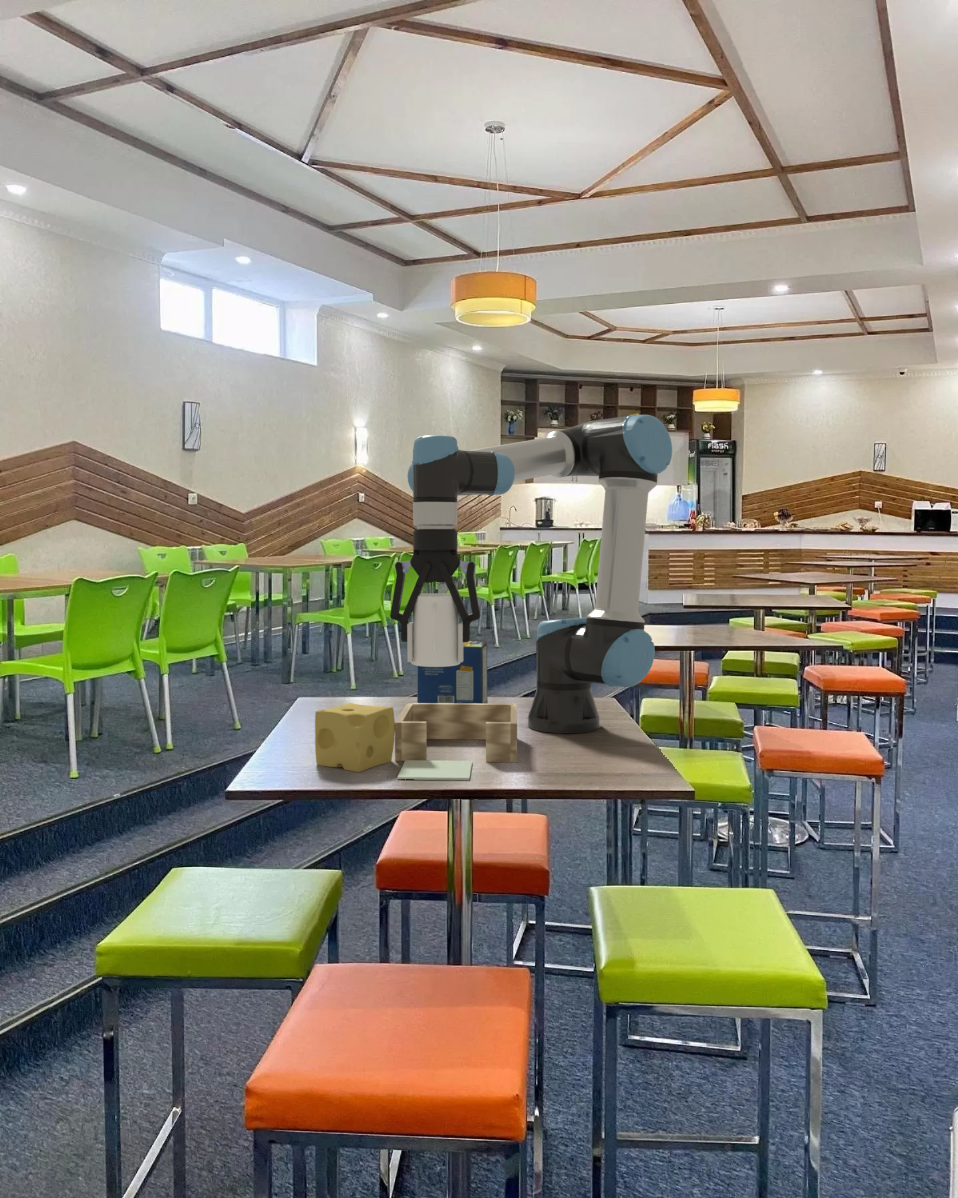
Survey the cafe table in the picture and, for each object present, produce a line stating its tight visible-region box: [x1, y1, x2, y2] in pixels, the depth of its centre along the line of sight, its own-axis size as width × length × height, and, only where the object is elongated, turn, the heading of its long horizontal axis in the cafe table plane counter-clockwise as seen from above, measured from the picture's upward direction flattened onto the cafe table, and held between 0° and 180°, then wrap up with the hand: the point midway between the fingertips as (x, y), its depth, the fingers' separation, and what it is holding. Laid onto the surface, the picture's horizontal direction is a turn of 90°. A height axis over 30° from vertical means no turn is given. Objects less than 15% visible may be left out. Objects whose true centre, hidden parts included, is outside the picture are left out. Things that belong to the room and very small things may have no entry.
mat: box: [396, 759, 473, 781], centre depth 165 cm, size 12×12×1 cm
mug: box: [410, 592, 460, 667], centre depth 163 cm, size 12×8×12 cm
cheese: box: [314, 703, 396, 773], centre depth 170 cm, size 10×11×10 cm
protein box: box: [416, 640, 489, 704], centre depth 224 cm, size 10×15×16 cm
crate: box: [394, 702, 518, 763], centre depth 181 cm, size 22×20×7 cm
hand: (435, 660), depth 164 cm, fingers closed on mug, 8 cm apart
